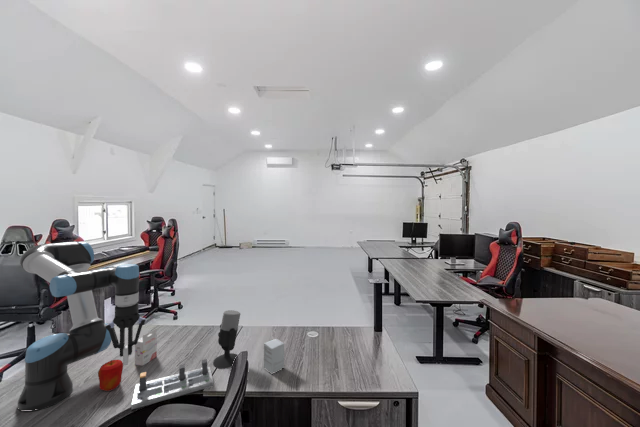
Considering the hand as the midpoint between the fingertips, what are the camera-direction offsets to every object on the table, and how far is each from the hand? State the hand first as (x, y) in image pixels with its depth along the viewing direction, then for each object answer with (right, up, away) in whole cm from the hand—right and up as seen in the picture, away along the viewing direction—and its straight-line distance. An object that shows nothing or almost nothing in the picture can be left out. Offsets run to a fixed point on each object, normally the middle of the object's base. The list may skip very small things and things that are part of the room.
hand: (125, 363), depth 102 cm
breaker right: (+25, -14, +14) cm, 32 cm away
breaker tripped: (+5, -13, +3) cm, 14 cm away
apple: (-12, -15, +8) cm, 21 cm away
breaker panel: (+15, -16, +9) cm, 23 cm away
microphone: (+30, -16, +29) cm, 44 cm away
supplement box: (+54, -17, +23) cm, 62 cm away
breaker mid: (+17, -13, +10) cm, 24 cm away
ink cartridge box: (-11, -15, +28) cm, 34 cm away
